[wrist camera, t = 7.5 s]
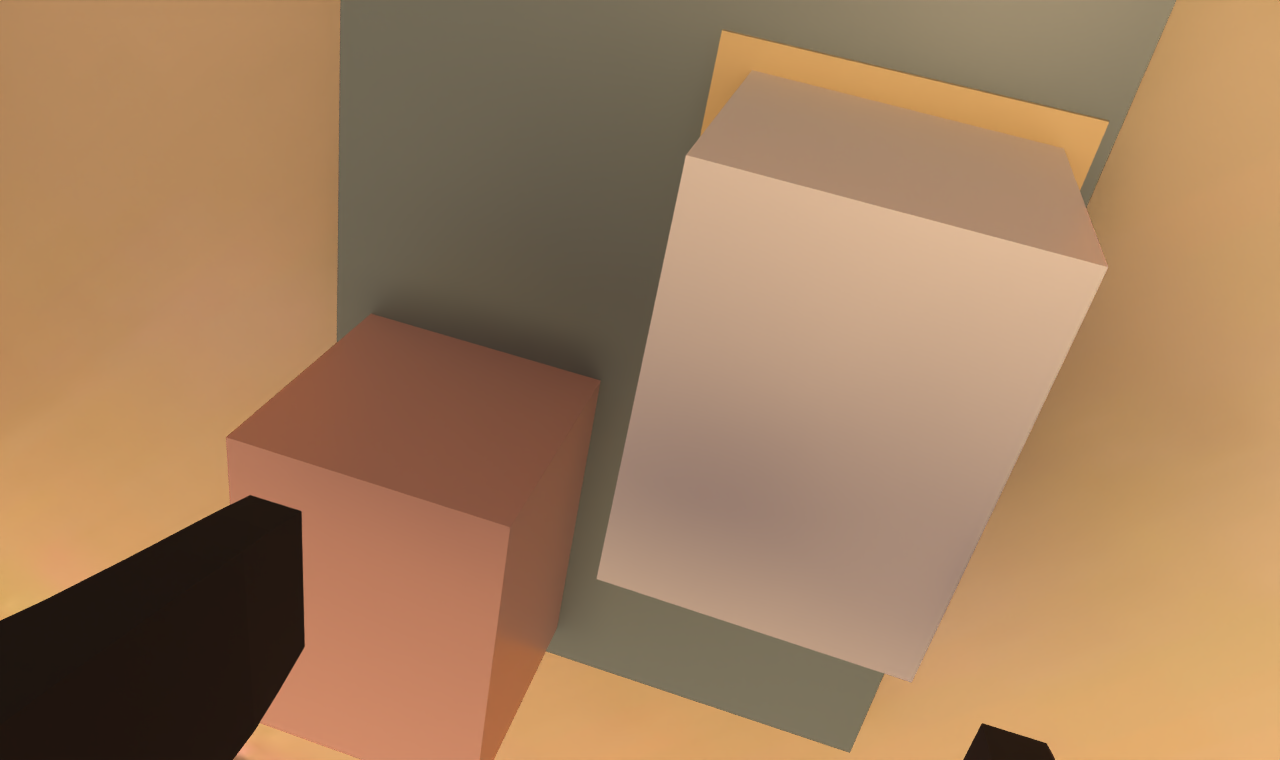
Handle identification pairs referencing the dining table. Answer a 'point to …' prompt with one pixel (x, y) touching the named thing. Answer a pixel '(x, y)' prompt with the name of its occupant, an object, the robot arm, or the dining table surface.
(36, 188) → the dining table surface
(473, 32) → the baseplate
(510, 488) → the terracotta brick
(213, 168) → the dining table surface
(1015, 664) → the dining table surface
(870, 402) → the cream brick
